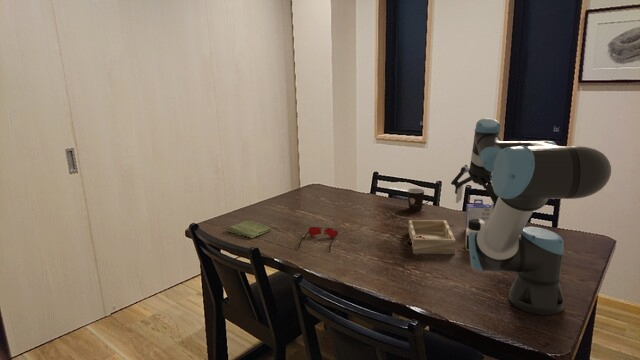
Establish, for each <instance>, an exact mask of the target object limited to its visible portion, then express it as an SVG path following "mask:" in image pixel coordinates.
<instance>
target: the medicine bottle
mask: <svg viewBox="0 0 640 360" xmlns="http://www.w3.org/2000/svg"><path fill="white" fill-rule="evenodd" d="M483 226H485V222H484V221H483V220H480V219H471V220H469V223H468V228H467V229H466V230H465V250H466V251H467V252H469V234H470V233H471V232H479V230H480V229H481V228H482V227H483Z"/></svg>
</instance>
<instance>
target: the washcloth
mask: <svg viewBox="0 0 640 360" xmlns="http://www.w3.org/2000/svg"><path fill="white" fill-rule="evenodd" d="M227 230H228V232H229V233H230V232H231V234H233V233H236V234H235V235H237V234H240V235H239V236H241V235H243V236H242V237H244V236H247V237H246V238H248V237H250V238H249V239H251V238H253V239H255V238H257V237H259V236H261V235H263V234H265V233H268V232H269V230H270V231H271V230H272V229H271V226H268V225H267V224H262V223H259V222H258V223H257V222H255V221H251V220H243V221H241V222H239V223H237V224H233V225H231V226H229V227H228V228H227ZM256 236H257V237H256ZM254 237H255V238H254Z"/></svg>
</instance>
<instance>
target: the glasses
mask: <svg viewBox="0 0 640 360" xmlns="http://www.w3.org/2000/svg"><path fill="white" fill-rule="evenodd" d="M323 232H324V235H325V236H327V235H328V236H329V238H331V237H332V240H331V242H330V244H329V249H328V253H329V252H330V253H331V248H332V244H333V242H334V240H335V239H336V238H337V236H339V232H338V230H337V229H336V228H332V227H326V228H325V229H324V230H323ZM308 234H309V236H311V237H313V236H316V235H317V236H318V235H321V234H322V227H319V226H317V227H316V226H309V228H308V232H306V233H305V235H304V236H303V238H301V240H300V241H299V245H298V247H297V249H298V248H299V249H300V248H301V245H302V242H303V241H304V239H305V238H307V236H308Z"/></svg>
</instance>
